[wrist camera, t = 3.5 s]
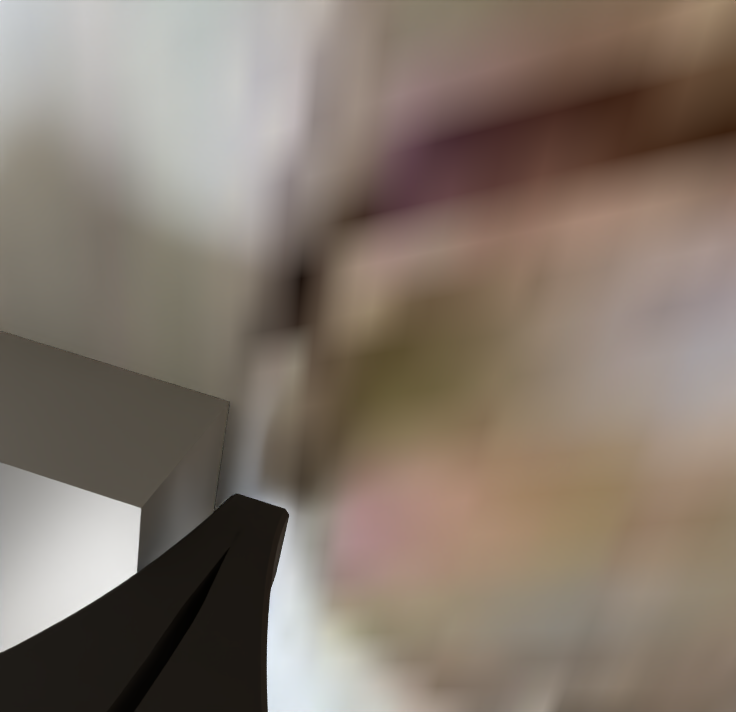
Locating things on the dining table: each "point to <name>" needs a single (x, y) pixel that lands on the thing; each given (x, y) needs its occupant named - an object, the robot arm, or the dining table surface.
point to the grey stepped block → (93, 478)
